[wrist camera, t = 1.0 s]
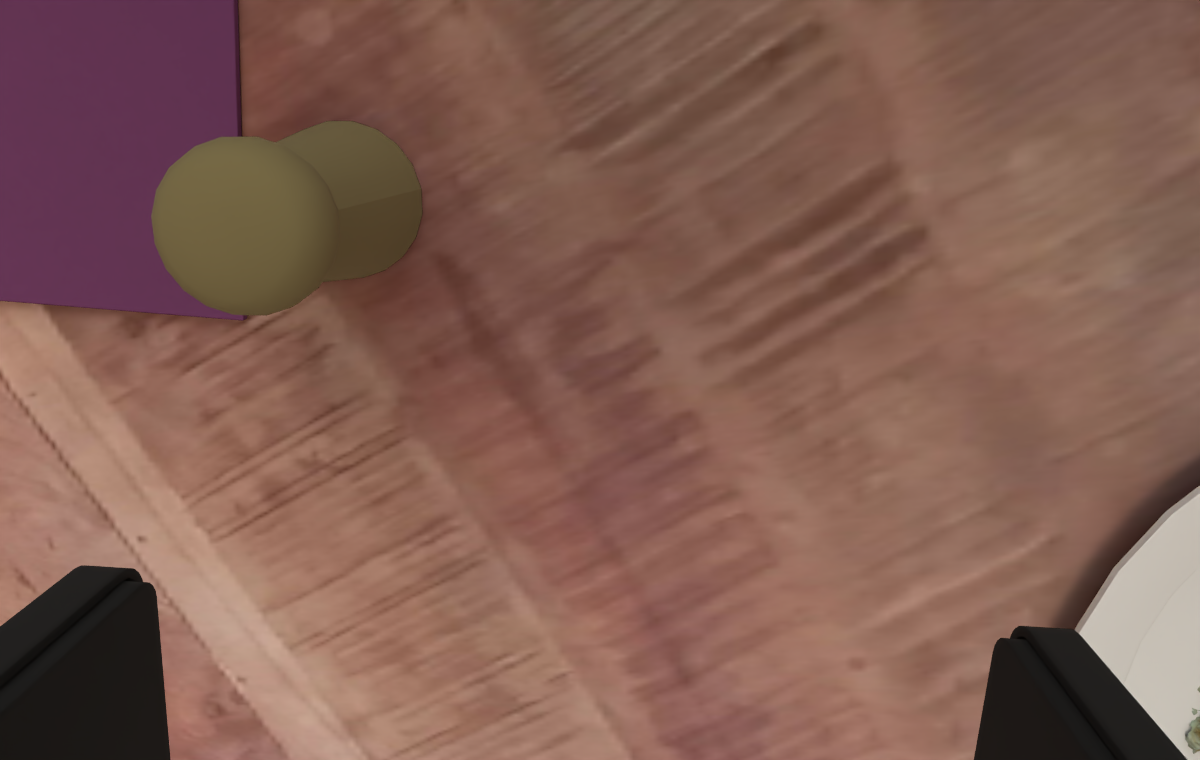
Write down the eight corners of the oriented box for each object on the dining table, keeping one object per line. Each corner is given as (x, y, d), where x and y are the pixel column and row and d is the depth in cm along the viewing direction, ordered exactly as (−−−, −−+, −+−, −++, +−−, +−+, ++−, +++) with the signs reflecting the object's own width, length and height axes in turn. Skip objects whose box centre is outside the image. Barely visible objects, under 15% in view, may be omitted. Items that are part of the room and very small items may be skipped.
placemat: (-220, -277, 33) (-230, -282, 33) (231, -247, 33) (225, -251, 32) (-141, 287, 38) (-148, 289, 38) (247, 318, 38) (243, 320, 38)
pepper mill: (264, 265, 37) (112, 322, 27) (273, 107, 36) (115, 103, 25) (414, 289, 37) (322, 357, 27) (430, 133, 36) (339, 140, 25)
